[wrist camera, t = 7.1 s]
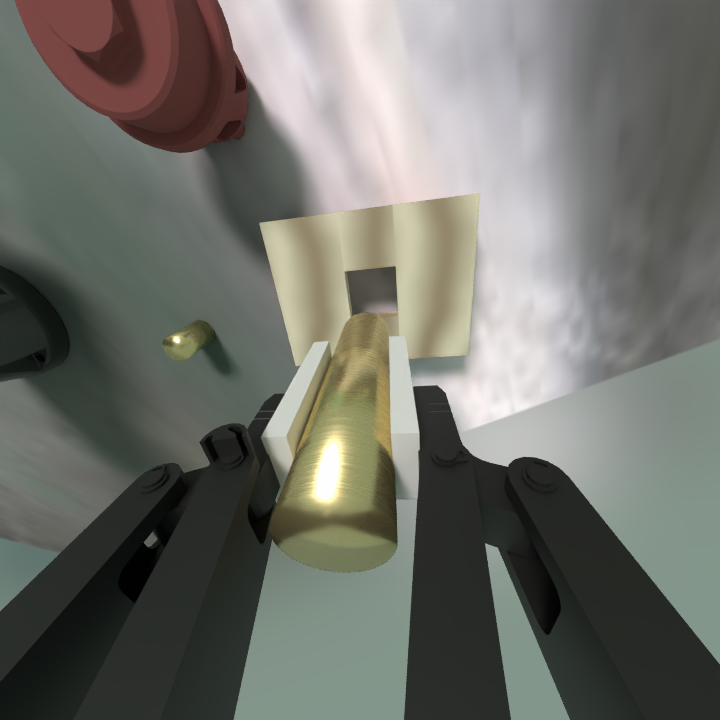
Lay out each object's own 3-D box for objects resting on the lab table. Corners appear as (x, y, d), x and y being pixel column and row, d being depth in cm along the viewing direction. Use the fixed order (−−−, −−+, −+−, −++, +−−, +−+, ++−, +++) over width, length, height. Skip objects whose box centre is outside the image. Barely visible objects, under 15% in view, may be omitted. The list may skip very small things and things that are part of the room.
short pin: (196, 343, 35) (169, 361, 31) (187, 321, 34) (157, 337, 30) (218, 341, 35) (194, 360, 31) (209, 319, 34) (182, 335, 29)
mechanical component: (216, -30, 20) (297, 120, 24) (134, 70, 23) (216, 189, 27) (20, -311, 9) (223, 44, 13) (-87, -55, 12) (102, 174, 16)
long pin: (345, 358, 18) (286, 570, 7) (338, 314, 16) (253, 496, 6) (392, 355, 17) (400, 574, 7) (389, 310, 16) (393, 497, 6)
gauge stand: (307, 346, 34) (295, 365, 30) (279, 221, 28) (259, 222, 23) (456, 335, 32) (468, 355, 28) (464, 196, 25) (480, 193, 21)
